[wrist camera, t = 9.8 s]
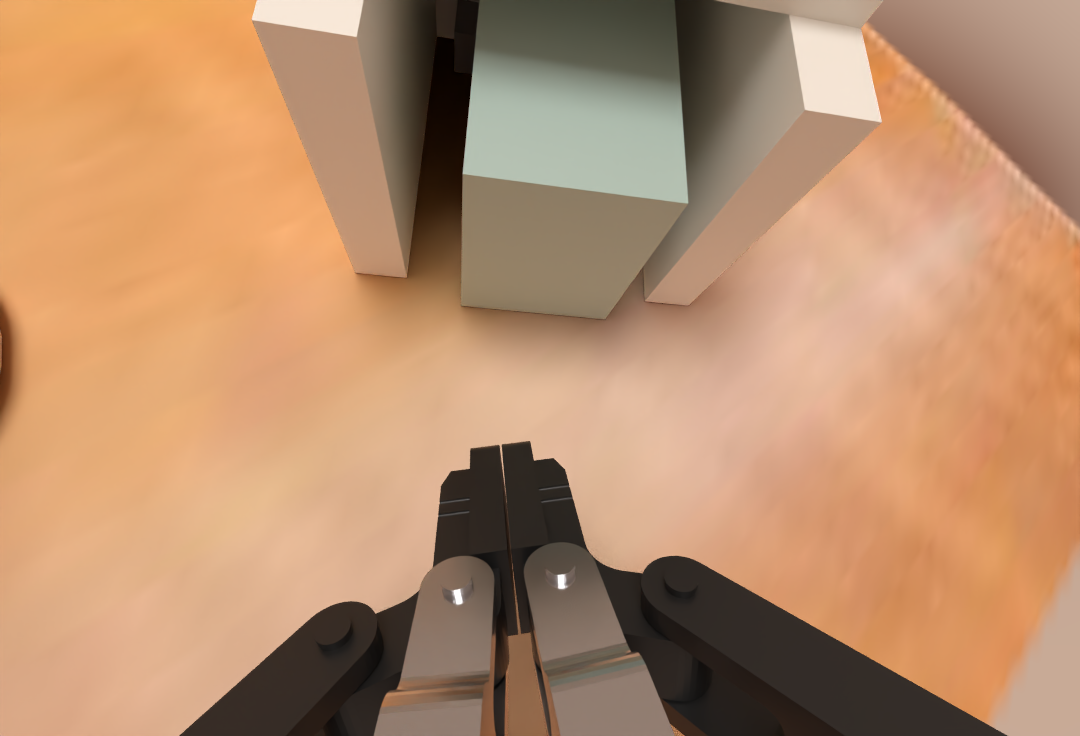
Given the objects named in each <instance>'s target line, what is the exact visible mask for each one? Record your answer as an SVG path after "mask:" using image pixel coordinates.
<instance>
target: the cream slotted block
mask: <svg viewBox="0 0 1080 736" xmlns="http://www.w3.org/2000/svg"><path fill="white" fill-rule="evenodd" d="M882 2H883V0H675V13H676V28H677V43H678V58H679V72H680V87H681V102H682V117H683V131H684V146H685V161H686V176H687V190H688V205H687V206H686V208H685V209H684V211H683V212H682V213H681V215H680V216H679V218H678V219H677V220H676V222H675V223H674V224H673V226H672V227H671V229H670V230H669V231H668V233H667V234H666V236H665V237H664V238H663V240H662V241H661V243H660V244H659V245H658V247H657V248H656V249H655V251H654V252H653V254H652V255H651V256H650V258H649V259H648V261H647V262H646V263H645V265H644V266H643V275H644V301H646V302H656V303H666V304H677V305H687V306H688V305H690V304H691V303H692V302H693V301H694V300H695V299H696V298H697V297H698V296H699V295H700V294H701V293H702V292H703V291H704V290H705V289H706V288H708V287H709V286H710V285H711V284H712V283H713V282H714V281H715V280H716V279H717V278H718V277H719V276H720V275H721V274H722V273H723V272H724V271H725V270H727V269H728V268H729V267H730V266H731V265H732V264H733V263H734V262H735V261H736V260H737V259H738V258H739V257H740V256H741V255H742V254H743V253H744V252H746V251H747V250H748V249H749V248H750V247H751V246H752V245H753V244H754V243H755V242H756V241H757V240H758V239H759V238H760V237H761V236H762V235H763V234H765V233H766V232H767V231H768V230H769V229H770V228H771V227H772V226H773V225H774V224H775V223H776V222H777V221H778V220H779V219H780V218H781V217H782V216H784V215H785V214H786V213H787V212H788V211H789V210H790V209H791V208H792V207H793V206H794V205H795V204H796V203H797V202H798V201H799V200H800V199H801V198H803V197H804V196H805V195H806V194H807V193H808V192H809V191H810V190H811V189H812V188H813V187H814V186H815V185H816V184H817V183H818V182H819V181H821V180H822V179H823V178H824V177H825V176H826V175H827V174H828V173H829V172H830V171H831V170H832V169H833V168H834V167H835V166H836V165H837V164H838V163H840V162H841V161H842V160H843V159H844V158H845V157H846V156H847V155H848V154H849V153H850V152H851V151H852V150H853V149H854V148H855V147H856V146H857V145H859V144H860V143H861V142H862V141H863V140H864V139H865V138H866V137H867V136H868V135H869V134H870V133H871V132H872V131H873V130H874V129H875V128H876V127H878V126H879V125H880V124H881V123H882V121H881V116H880V112H879V107H878V103H877V98H876V94H875V89H874V85H873V80H872V76H871V71H870V67H869V62H868V58H867V53H866V49H865V44H864V40H863V36H862V31H861V28H862V26H863V25H864V24H865V23H866V21H867V20H868V19H869V18H870V16H871V15H872V14H873V13H874V12H875V10H876V9H877V8H878V7H879V5H880V4H881V3H882ZM478 11H479V0H257V3H256V6H255V10H254V13H253V17H252V22H253V24H254V27H255V29H256V32H257V34H258V37H259V39H260V41H261V44H262V46H263V49H264V51H265V54H266V56H267V59H268V61H269V63H270V66H271V68H272V71H273V73H274V76H275V78H276V81H277V83H278V85H279V88H280V90H281V93H282V95H283V98H284V100H285V102H286V105H287V107H288V110H289V112H290V115H291V117H292V120H293V122H294V124H295V127H296V129H297V132H298V134H299V137H300V139H301V142H302V144H303V146H304V149H305V151H306V154H307V156H308V159H309V161H310V164H311V166H312V168H313V171H314V173H315V176H316V178H317V181H318V183H319V185H320V188H321V190H322V193H323V195H324V198H325V200H326V203H327V205H328V207H329V210H330V212H331V215H332V217H333V220H334V222H335V225H336V227H337V229H338V232H339V234H340V237H341V239H342V242H343V244H344V247H345V249H346V251H347V254H348V256H349V259H350V261H351V264H352V266H353V268H354V271H355V273H363V274H373V275H383V276H393V277H403V278H407V272H408V264H409V256H410V248H411V240H412V232H413V224H414V216H415V208H416V200H417V192H418V184H419V176H420V168H421V160H422V152H423V144H424V136H425V128H426V120H427V112H428V104H429V96H430V88H431V80H432V72H433V64H434V56H435V48H436V40H437V36H438V37H444V38H450V39H454V72H461V73H467V74H472V72H473V62H474V52H475V42H476V31H477V21H478Z"/></svg>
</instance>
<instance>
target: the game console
mask: <svg viewBox="0 0 1080 736" xmlns="http://www.w3.org/2000/svg"><path fill="white" fill-rule="evenodd" d="M1 364H2V337H1V331H0V372H1Z"/></svg>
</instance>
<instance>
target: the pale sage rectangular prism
mask: <svg viewBox="0 0 1080 736" xmlns="http://www.w3.org/2000/svg"><path fill="white" fill-rule="evenodd" d="M687 205H688V190H687V176H686V161H685V146H684V131H683V117H682V102H681V87H680V72H679V58H678V43H677V28H676V13H675V0H479V11H478V21H477V31H476V42H475V52H474V62H473V72H472V83H471V93H470V103H469V114H468V124H467V134H466V145H465V155H464V165H463V185H462V261H461V306H469V307H479V308H490V309H500V310H510V311H521V312H531V313H542V314H552V315H563V316H573V317H584V318H594V319H606V318H607V316H608V315H609V313H610V312H611V311H612V309H613V308H614V306H615V305H616V304H617V302H618V301H619V299H620V298H621V297H622V295H623V294H624V293H625V291H626V290H627V288H628V287H629V286H630V284H631V283H632V281H633V280H634V279H635V277H636V276H637V274H638V273H639V272H640V270H641V269H642V268H643V266H644V265H645V263H646V262H647V261H648V259H649V258H650V256H651V255H652V254H653V252H654V251H655V249H656V248H657V247H658V245H659V244H660V243H661V241H662V240H663V238H664V237H665V236H666V234H667V233H668V231H669V230H670V229H671V227H672V226H673V224H674V223H675V222H676V220H677V219H678V218H679V216H680V215H681V213H682V212H683V211H684V209H685V208H686V206H687Z"/></svg>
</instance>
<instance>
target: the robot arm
mask: <svg viewBox="0 0 1080 736" xmlns="http://www.w3.org/2000/svg"><path fill="white" fill-rule="evenodd" d="M502 453H503V465H504V477H505V486H504V478H503V470H502V462H501V453H500V446H499V445H495V446H487V447H479V448H471V450H470V469H466V470H458V471H451V472H450V474H449V475H448V477H447V478H446V480H445V481H444V482H443V484H442V485H441V493H440V504H439V513H438V515H439V517H438V523H437V532H436V542H435V552H434V562H433V568H432V569H431V570H430V571H429V572H428V573H427V575H426V576H425V577H424V579H423V581H422V583H421V586H420V590H419V591H418V592H417V593H416V594H415V595H413V596H412V597H411V598H409V599H407V600H406V601H404V602H402V603H400V604H398V605H395V606H393V607H391V608H388V609H386V610H384V611H381V612H379V613H377V614H375V613H374V611H373V610H372V609H371V608H370V607H369V606H368V605H366V604H363V603H360V602H352V601H350V602H342V603H338V604H335V605H332V606H330V607H328V608H326V609H323V610H322V611H320V612H319V613H317V614H316V615H314V616H313V617H312V618H311V619H310V620H308V621H307V622H306V623H305V624H304V625H303V626H302V627H301V628H299V629H298V630H297V631H296V632H295V633H294V634H293V635H292V636H290V637H289V638H288V639H287V640H286V641H285V642H284V643H283V644H282V645H280V646H279V647H278V648H277V649H276V650H275V651H274V652H273V653H271V654H270V655H269V656H268V657H267V658H266V659H265V660H264V661H262V662H261V663H260V664H259V665H258V666H257V667H256V668H255V669H254V670H252V671H251V672H250V673H249V674H248V675H247V676H246V677H245V678H243V679H242V680H241V681H240V682H239V683H238V684H237V685H236V686H234V687H233V688H232V689H231V690H230V691H229V692H228V693H227V694H226V695H224V696H223V697H222V698H221V699H220V700H219V701H218V702H217V703H215V704H214V705H213V706H212V707H211V708H210V709H209V710H208V711H206V712H205V713H204V714H203V715H202V716H201V717H200V718H199V719H198V720H196V721H195V722H194V723H193V724H192V725H191V726H190V727H189V728H187V729H186V730H185V731H184V732H183V733H182V734H181V735H180V736H508V679H509V676H508V664H509V646H508V636H511V635H517V634H518V627H517V616H516V604H515V593H514V581H513V571H514V579H515V587H516V595H517V603H518V611H519V619H520V627H521V634H523V633H529V632H530V633H531V642H532V651H533V659H534V667H535V675H536V680H537V685H538V690H539V696H540V701H541V706H542V711H543V716H544V722H545V727H546V732H547V736H675V735H674V733H673V730H672V728H671V725H673V726H674V727H675V728H676V729H677V730H679V731H680V732H681V733H682V734H683V735H685V736H1007V735H1005V734H1003V733H1002V732H1000V731H998V730H996V729H994V728H993V727H991V726H989V725H987V724H986V723H984V722H982V721H980V720H978V719H977V718H975V717H973V716H971V715H970V714H968V713H966V712H964V711H962V710H961V709H959V708H957V707H955V706H954V705H952V704H950V703H948V702H946V701H945V700H943V699H941V698H939V697H938V696H936V695H934V694H932V693H930V692H929V691H927V690H925V689H923V688H922V687H920V686H918V685H916V684H914V683H913V682H911V681H909V680H907V679H906V678H904V677H902V676H900V675H898V674H897V673H895V672H893V671H891V670H890V669H888V668H886V667H884V666H882V665H881V664H879V663H877V662H875V661H874V660H872V659H870V658H868V657H867V656H865V655H863V654H861V653H859V652H858V651H856V650H854V649H852V648H851V647H849V646H847V645H845V644H843V643H842V642H840V641H838V640H836V639H835V638H833V637H831V636H829V635H827V634H826V633H824V632H822V631H820V630H819V629H817V628H815V627H813V626H811V625H810V624H808V623H806V622H804V621H803V620H801V619H799V618H797V617H795V616H794V615H792V614H790V613H788V612H787V611H785V610H783V609H781V608H779V607H778V606H776V605H774V604H772V603H771V602H769V601H767V600H765V599H763V598H762V597H760V596H758V595H756V594H755V593H753V592H751V591H749V590H747V589H746V588H744V587H742V586H740V585H739V584H737V583H735V582H733V581H731V580H730V579H728V578H726V577H724V576H723V575H721V574H719V573H717V572H715V571H714V570H712V569H710V568H708V567H707V566H705V565H703V564H701V563H699V562H697V561H695V560H693V559H690V558H686V557H681V556H667V557H662V558H659V559H657V560H655V561H653V562H651V563H650V564H649V565H648V566H647V567H646V569H645V570H644V572H643V574H642V573H635V572H627V571H621V570H616V569H613V568H610V567H608V566H605V565H603V564H602V563H600V562H599V561H597V560H596V559H595V558H594V557H593V556H592V555H591V554H590V553H589V551H588V549H587V547H586V545H585V541H584V538H583V534H582V530H581V527H580V523H579V519H578V516H577V512H576V508H575V505H574V501H573V499H572V494H571V490H570V487H569V483H568V479H567V475H566V472H565V469H564V468H563V467H562V466H561V465H560V464H559V463H558V462H557V461H556V460H555V459H554V458H551V459H544V460H536V461H534V459H533V454H532V448H531V443H530V441H526V442H518V443H510V444H502ZM505 488H506V494H505ZM506 500H507V503H506ZM507 511H508V512H507ZM511 555H512V558H511ZM512 563H513V569H512ZM670 724H671V725H670Z"/></svg>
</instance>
